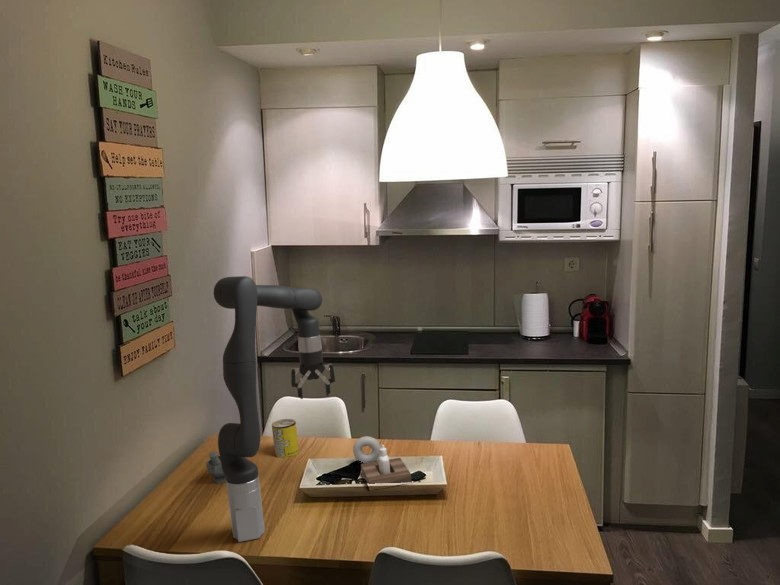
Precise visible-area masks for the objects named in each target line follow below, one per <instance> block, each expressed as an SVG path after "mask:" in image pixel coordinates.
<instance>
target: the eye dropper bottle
mask: <svg viewBox="0 0 780 585" xmlns="http://www.w3.org/2000/svg"><path fill="white" fill-rule="evenodd" d="M380 447H381V448H380V449H379V453H380V455H379V457H378V459H377V462H378V461H379V473H380V475H382V474H388V473H390V464H389V459H390V457H389V455H388V453H387V450H388V449H387V448H386V447H385V445H384V444H380Z"/></svg>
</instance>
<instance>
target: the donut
mask: <svg viewBox="0 0 780 585" xmlns="http://www.w3.org/2000/svg"><path fill="white" fill-rule="evenodd" d="M364 447H370V449H371V451H370V453H365V452H364V451H363V449H364ZM380 448H381V443H380V442H379V440H377V438H374V437H372V436H361V437H359V438H358V439H357V440H356V441H355V442H354V445H353V449H352V451H353V452H352V453H353V456H354V458H355V459H356V460H357V461H358V460H359V461H361V462H360V463H362V462H363V463H362V464H366V463H372V462H377V461H378V457H379V455H380V453H379V449H380ZM359 461H358V462H359Z"/></svg>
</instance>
